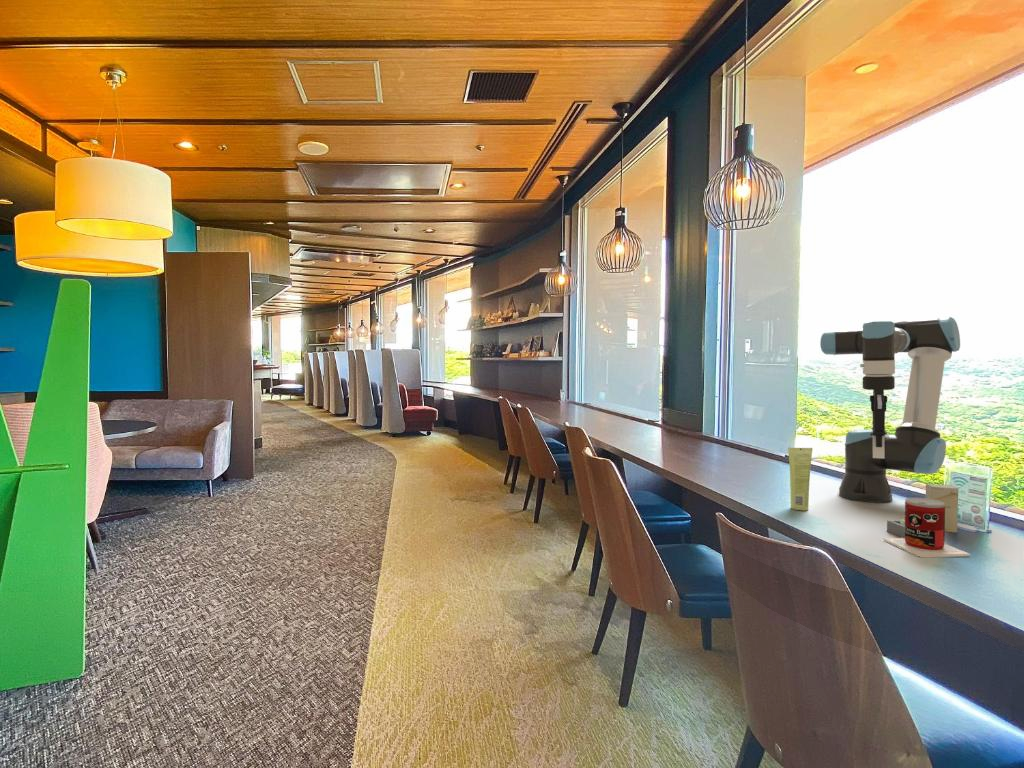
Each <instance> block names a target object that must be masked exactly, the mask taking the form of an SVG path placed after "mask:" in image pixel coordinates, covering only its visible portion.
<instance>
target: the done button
mask: <svg viewBox="0 0 1024 768" xmlns="http://www.w3.org/2000/svg"><path fill="white" fill-rule="evenodd" d="M899 520H900V524H901V525H904V526H905V518H902V519H899Z"/></svg>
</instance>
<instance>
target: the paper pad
mask: <svg viewBox="0 0 1024 768" xmlns="http://www.w3.org/2000/svg"><path fill="white" fill-rule="evenodd" d="M882 540H884V541H883V542H885V541H886V542H885V543H887V542H888V544H889V543H890V545H892V546H894V545H895V546H894V547H896V546H897V547H896V548H898V547H900V548H899V549H901V548H902V549H901V550H903V549H904V550H903V551H905V550H906V551H905V552H907V551H909V552H911V553H910V554H912V553H913V554H912V555H914V554H915V555H914V556H916V555H917V557H918V556H920V557H919V558H948V557H949V558H955V557H957V558H958V557H971V553H969V552H966V551H964V550H961V549H958V548H956V547H953V546H951V545H949V544H946V543H944V547H943V549H940V550H926V549H920V548H916V547H912V546H910V545H908V544H907V543H906V541H905V538H902V537H895V538H894V537H890V538H883V539H882ZM909 552H908V553H909Z"/></svg>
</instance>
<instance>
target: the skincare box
mask: <svg viewBox="0 0 1024 768" xmlns="http://www.w3.org/2000/svg"><path fill="white" fill-rule="evenodd" d="M924 498H927V499H933V500H938V501H941V502H943V503H945V532H946V533H958V516H959V511H958V509H959V488H958V487H957V486H954V485H952V484H939V483H938V484H935V483H925V497H924Z"/></svg>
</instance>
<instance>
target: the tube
mask: <svg viewBox="0 0 1024 768" xmlns="http://www.w3.org/2000/svg"><path fill="white" fill-rule="evenodd" d="M787 450H788V461H789V462H788V463H789V481H790V482H789V483H790V488H789V489H790V508H791V509H792V510H794V511H796V510H797V511H808V510H809V498H810V479H811V478H810V477H811V466H812V454H813V447H788V449H787Z"/></svg>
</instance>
